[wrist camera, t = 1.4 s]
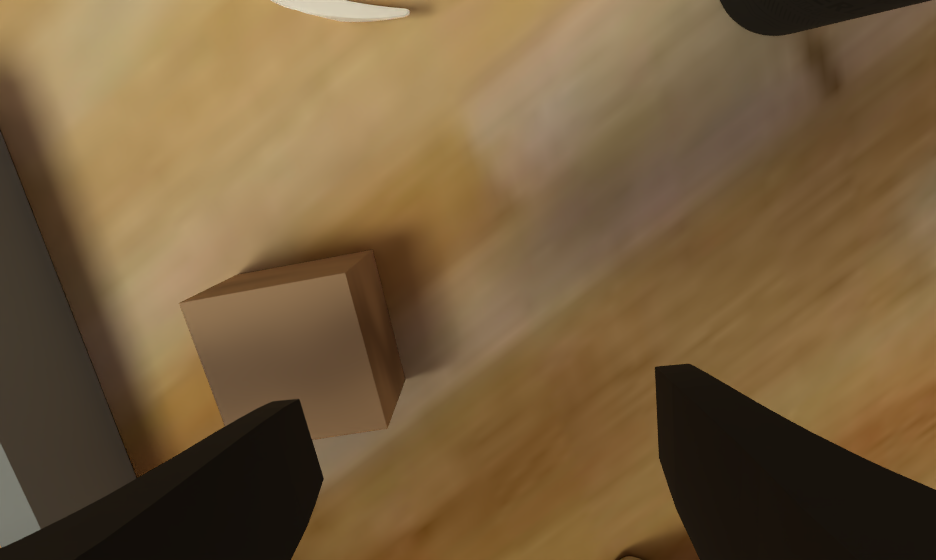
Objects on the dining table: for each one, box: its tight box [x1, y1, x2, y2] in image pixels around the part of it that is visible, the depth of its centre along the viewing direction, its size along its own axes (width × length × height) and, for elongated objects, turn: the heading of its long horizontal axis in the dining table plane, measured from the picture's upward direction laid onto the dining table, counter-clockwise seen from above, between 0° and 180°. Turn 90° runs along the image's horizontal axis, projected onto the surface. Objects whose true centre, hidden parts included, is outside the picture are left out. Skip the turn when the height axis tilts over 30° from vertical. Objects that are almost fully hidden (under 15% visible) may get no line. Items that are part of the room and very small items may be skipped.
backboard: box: [0, 131, 137, 548], centre depth 18 cm, size 18×2×4 cm, turn 9°
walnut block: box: [179, 250, 405, 440], centre depth 18 cm, size 6×6×4 cm
